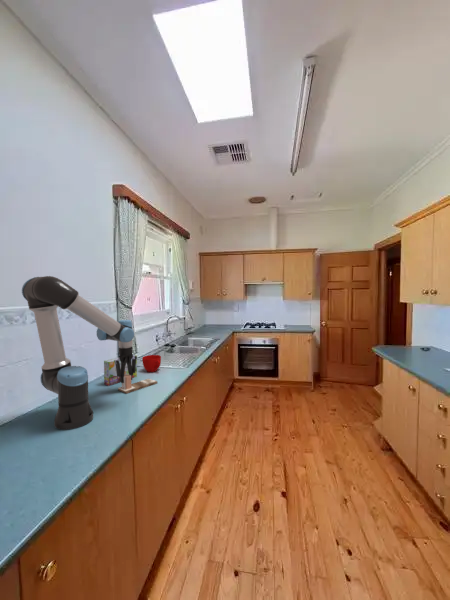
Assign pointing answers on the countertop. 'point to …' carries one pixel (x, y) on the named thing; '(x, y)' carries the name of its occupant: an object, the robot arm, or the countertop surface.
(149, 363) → the ceramic cup
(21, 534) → the countertop surface
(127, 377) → the stub
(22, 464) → the countertop surface
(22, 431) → the countertop surface
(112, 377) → the snack box
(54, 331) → the robot arm
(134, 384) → the board
